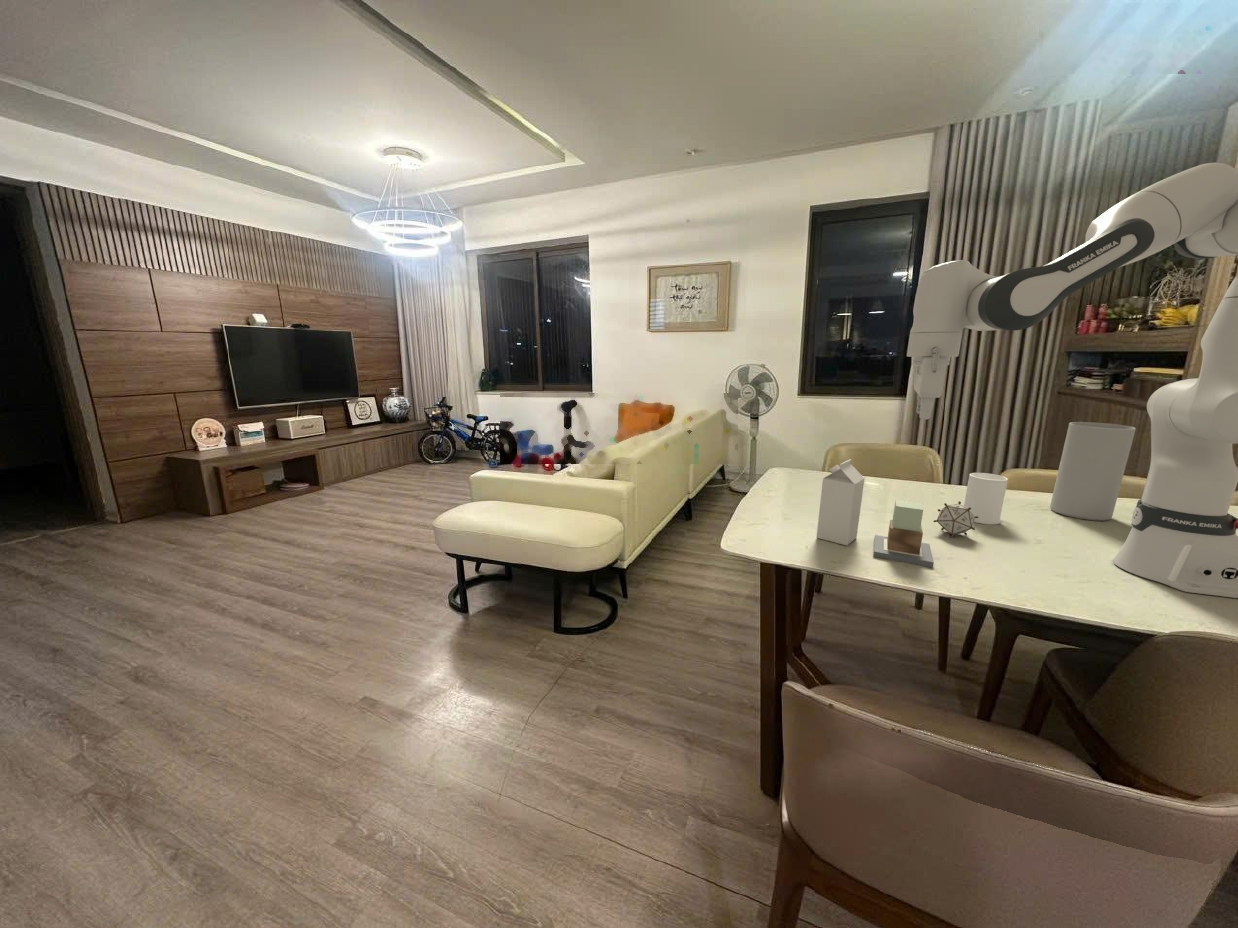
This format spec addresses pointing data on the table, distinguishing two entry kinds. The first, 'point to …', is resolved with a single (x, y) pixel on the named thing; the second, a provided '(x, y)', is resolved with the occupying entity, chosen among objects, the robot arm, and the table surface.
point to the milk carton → (840, 504)
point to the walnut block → (904, 540)
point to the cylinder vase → (1091, 470)
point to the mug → (985, 497)
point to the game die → (955, 519)
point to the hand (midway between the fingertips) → (922, 416)
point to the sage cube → (907, 515)
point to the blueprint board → (902, 553)
